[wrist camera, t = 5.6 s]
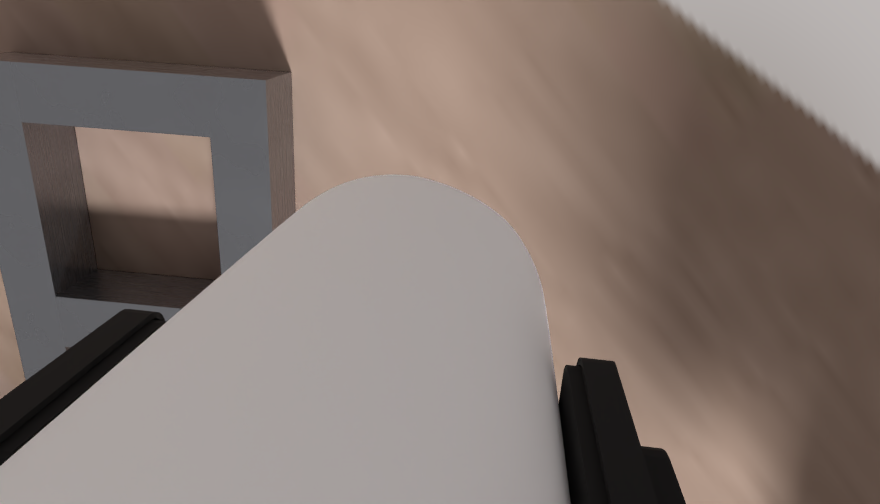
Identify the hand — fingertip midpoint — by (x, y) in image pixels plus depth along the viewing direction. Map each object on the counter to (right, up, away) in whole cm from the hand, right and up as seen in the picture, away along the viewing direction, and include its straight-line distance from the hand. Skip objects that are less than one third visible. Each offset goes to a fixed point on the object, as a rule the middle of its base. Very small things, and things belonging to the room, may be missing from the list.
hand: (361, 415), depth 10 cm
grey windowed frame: (-11, 0, +19) cm, 22 cm away
